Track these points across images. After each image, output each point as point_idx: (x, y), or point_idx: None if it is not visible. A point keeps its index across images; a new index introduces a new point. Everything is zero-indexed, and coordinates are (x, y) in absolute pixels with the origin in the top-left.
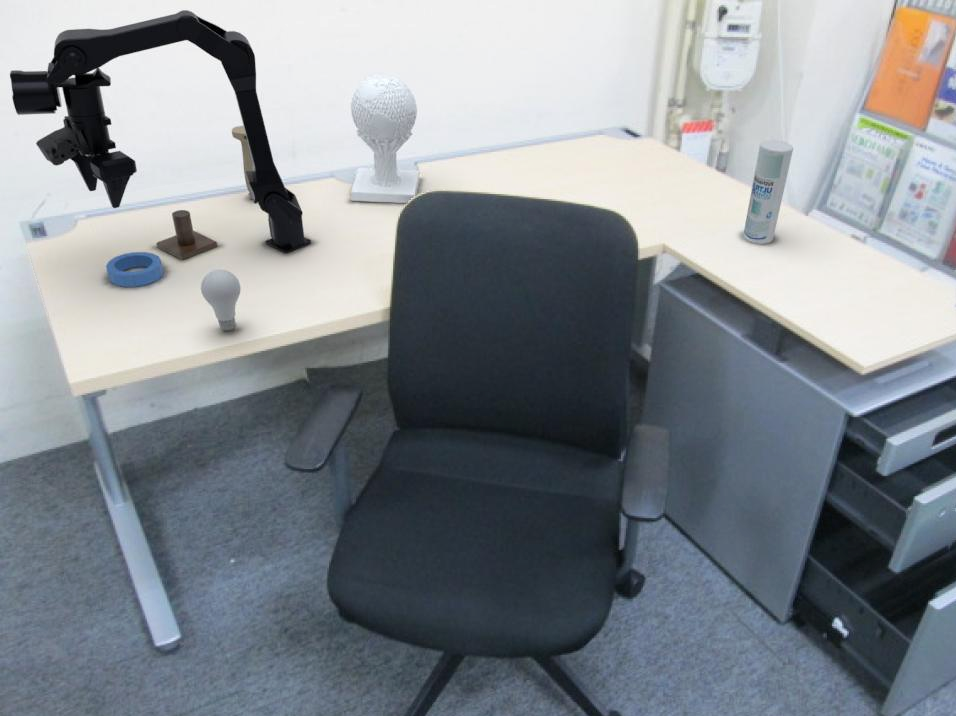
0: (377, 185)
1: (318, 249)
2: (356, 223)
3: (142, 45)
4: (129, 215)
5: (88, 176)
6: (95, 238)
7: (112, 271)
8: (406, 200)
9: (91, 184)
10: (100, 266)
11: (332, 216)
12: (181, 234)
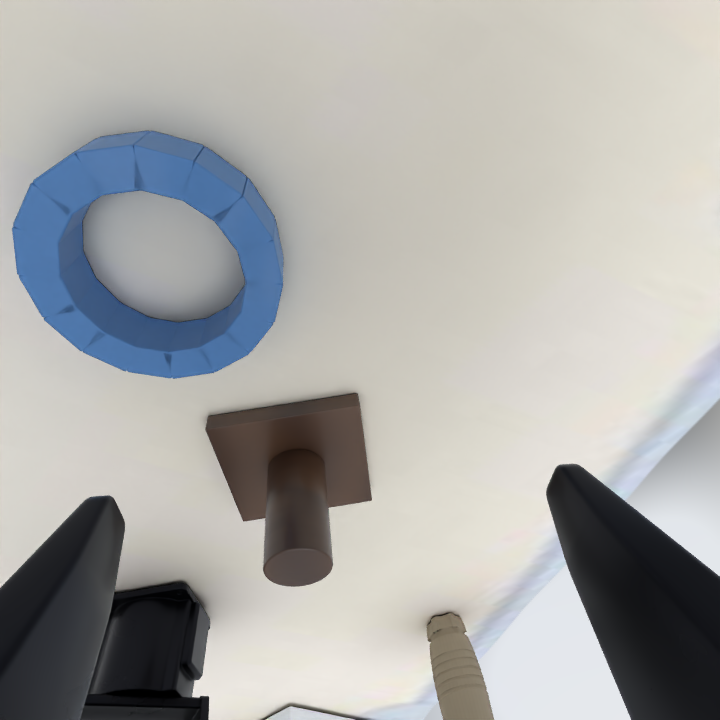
0: None
1: None
2: None
3: None
4: (633, 409)
5: (635, 600)
6: (594, 264)
7: (106, 160)
8: None
9: (577, 528)
10: (348, 168)
11: (248, 677)
12: (275, 490)
